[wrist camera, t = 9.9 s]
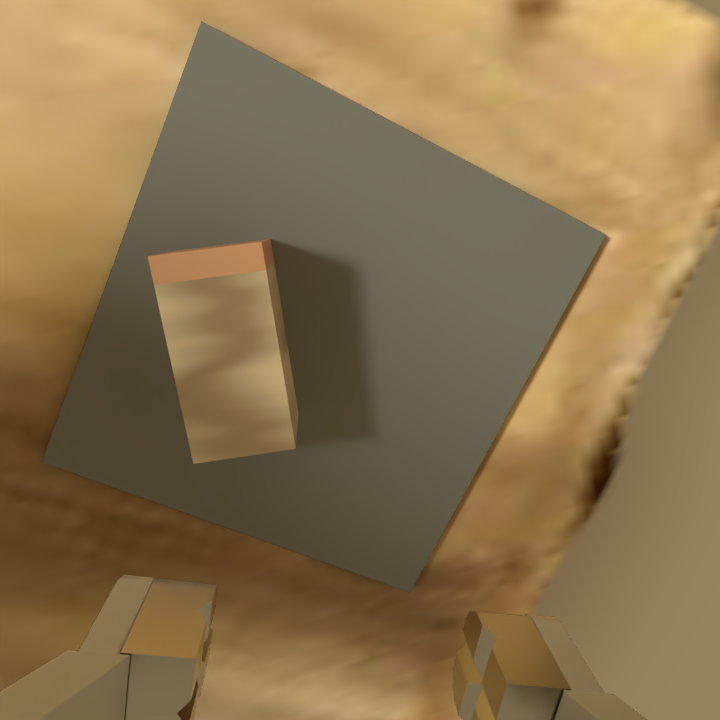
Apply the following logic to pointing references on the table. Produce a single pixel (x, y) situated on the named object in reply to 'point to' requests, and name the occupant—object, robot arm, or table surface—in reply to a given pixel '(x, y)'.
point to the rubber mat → (325, 316)
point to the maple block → (227, 349)
